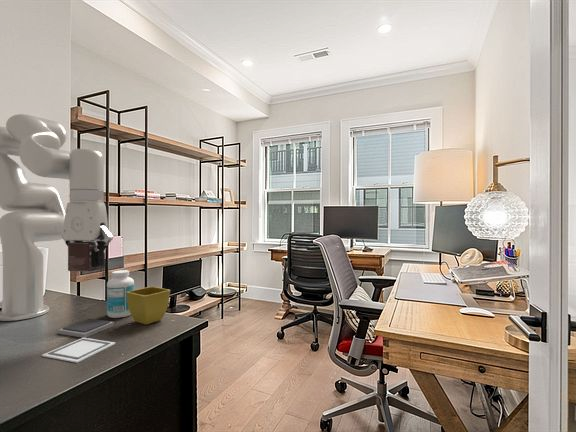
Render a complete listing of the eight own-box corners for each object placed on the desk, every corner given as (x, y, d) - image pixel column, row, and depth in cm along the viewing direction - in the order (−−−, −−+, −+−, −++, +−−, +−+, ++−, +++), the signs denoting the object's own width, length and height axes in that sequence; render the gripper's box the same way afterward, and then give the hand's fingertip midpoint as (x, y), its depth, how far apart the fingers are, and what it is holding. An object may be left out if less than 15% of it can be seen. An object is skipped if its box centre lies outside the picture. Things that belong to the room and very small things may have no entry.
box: (87, 272, 78) (87, 243, 78) (67, 271, 79) (66, 242, 79) (105, 268, 84) (105, 241, 84) (86, 267, 85) (86, 240, 85)
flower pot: (152, 314, 97) (152, 285, 97) (171, 319, 93) (171, 289, 93) (125, 322, 90) (125, 291, 90) (144, 328, 85) (144, 296, 85)
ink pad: (58, 333, 81) (58, 328, 81) (88, 322, 90) (88, 317, 90) (85, 337, 79) (85, 332, 79) (114, 325, 87) (114, 321, 87)
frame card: (42, 356, 69) (42, 354, 69) (83, 338, 78) (83, 337, 78) (77, 362, 66) (77, 360, 66) (115, 343, 75) (115, 342, 75)
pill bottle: (127, 309, 102) (128, 268, 102) (138, 314, 97) (138, 271, 97) (102, 315, 96) (103, 271, 96) (112, 320, 91) (113, 274, 91)
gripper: (47, 197, 80) (47, 266, 80) (101, 196, 76) (102, 270, 76) (73, 198, 87) (74, 262, 87) (125, 197, 83) (125, 265, 83)
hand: (87, 265), depth 82 cm, fingers closed on box, 6 cm apart
